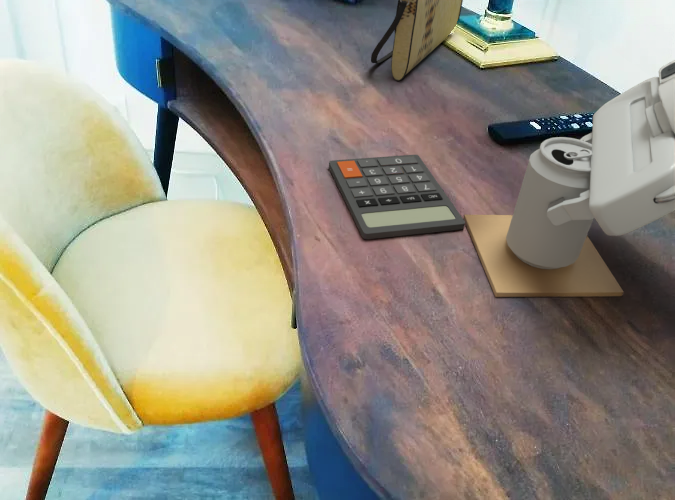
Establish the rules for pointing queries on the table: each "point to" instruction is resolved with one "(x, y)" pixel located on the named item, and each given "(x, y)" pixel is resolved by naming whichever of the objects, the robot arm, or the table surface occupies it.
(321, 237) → the table surface
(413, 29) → the clutch purse
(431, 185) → the calculator
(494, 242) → the cork mat
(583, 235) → the can
